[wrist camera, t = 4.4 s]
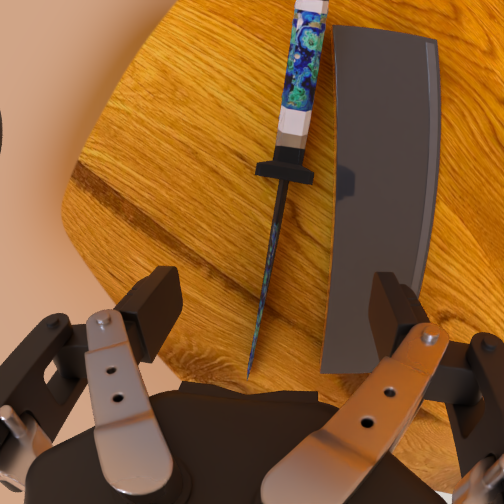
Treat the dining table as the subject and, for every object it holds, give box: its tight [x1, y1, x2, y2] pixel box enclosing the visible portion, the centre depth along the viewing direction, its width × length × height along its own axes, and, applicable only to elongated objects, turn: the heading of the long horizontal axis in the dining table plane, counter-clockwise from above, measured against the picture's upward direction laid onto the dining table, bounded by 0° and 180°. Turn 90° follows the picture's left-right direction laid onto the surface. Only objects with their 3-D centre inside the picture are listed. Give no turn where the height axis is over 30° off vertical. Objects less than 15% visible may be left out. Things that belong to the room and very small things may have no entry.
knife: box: [247, 0, 329, 379], centre depth 20 cm, size 30×3×4 cm, turn 168°
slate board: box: [319, 25, 441, 374], centre depth 20 cm, size 7×26×2 cm, turn 2°
